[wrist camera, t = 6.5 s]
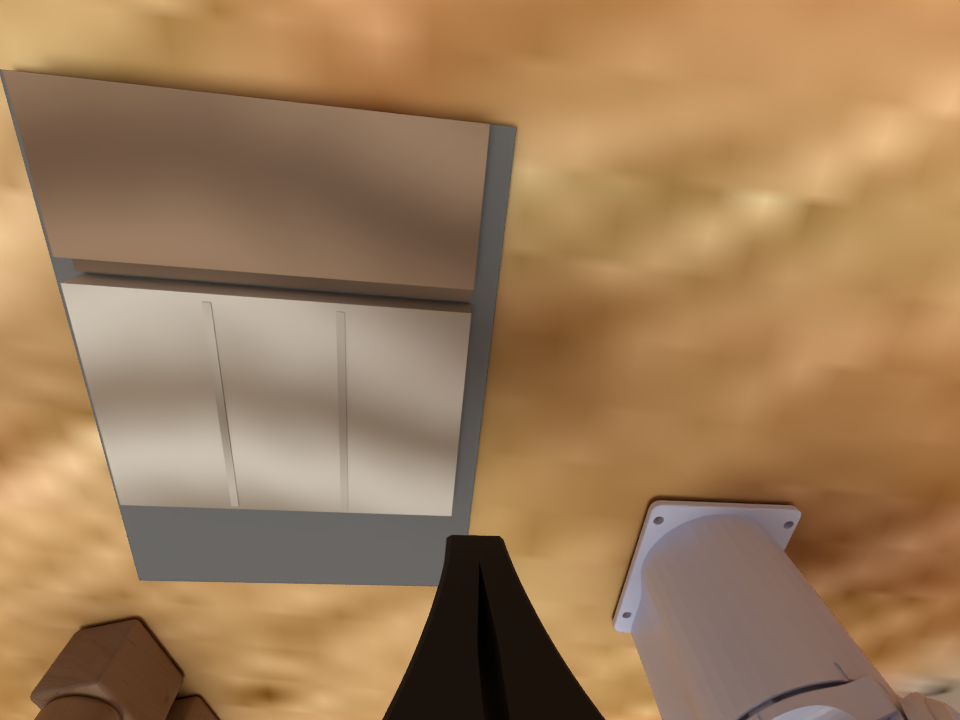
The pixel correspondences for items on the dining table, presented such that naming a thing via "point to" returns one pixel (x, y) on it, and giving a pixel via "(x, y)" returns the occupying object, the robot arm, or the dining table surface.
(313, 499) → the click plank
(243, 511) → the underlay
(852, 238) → the dining table surface
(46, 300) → the dining table surface
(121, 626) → the brown wooden upright frame
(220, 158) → the laid plank
